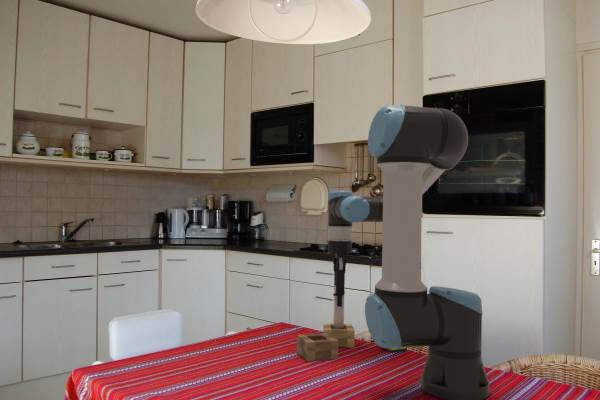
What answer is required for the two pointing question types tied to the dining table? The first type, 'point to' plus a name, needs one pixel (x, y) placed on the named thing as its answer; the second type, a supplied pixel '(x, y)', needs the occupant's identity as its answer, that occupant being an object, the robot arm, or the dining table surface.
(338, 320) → the needle dowel
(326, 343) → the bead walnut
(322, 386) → the dining table surface
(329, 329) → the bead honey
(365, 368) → the dining table surface
